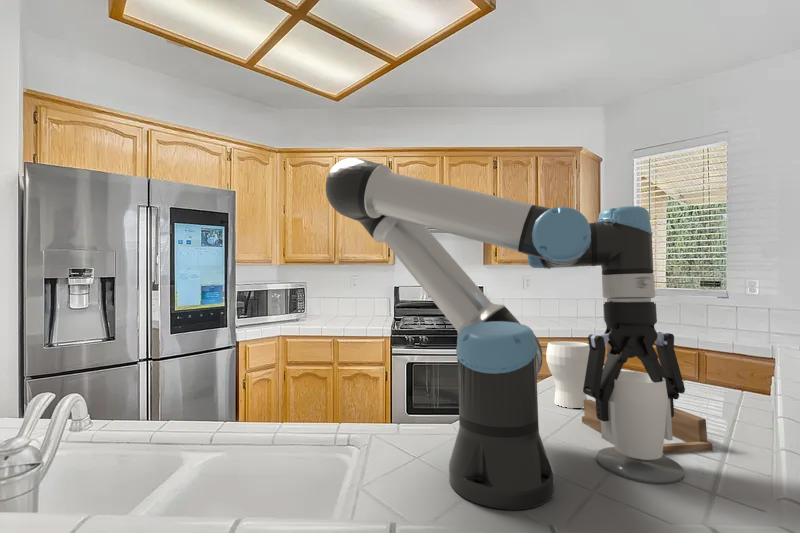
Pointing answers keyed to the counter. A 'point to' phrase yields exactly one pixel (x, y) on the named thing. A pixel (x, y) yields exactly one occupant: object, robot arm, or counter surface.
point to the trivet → (640, 467)
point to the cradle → (682, 428)
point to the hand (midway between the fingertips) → (636, 439)
